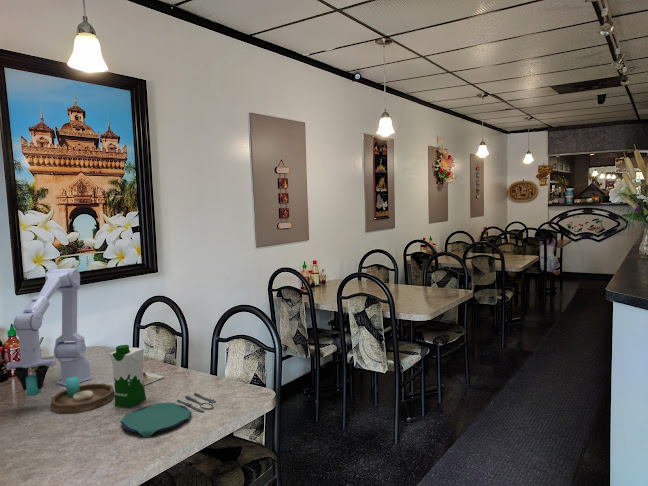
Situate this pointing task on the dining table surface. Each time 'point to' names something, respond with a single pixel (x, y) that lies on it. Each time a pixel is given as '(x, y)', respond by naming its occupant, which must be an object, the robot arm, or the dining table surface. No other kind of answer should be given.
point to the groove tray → (81, 406)
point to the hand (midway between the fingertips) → (33, 388)
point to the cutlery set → (160, 416)
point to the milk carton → (128, 376)
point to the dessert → (150, 375)
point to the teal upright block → (72, 386)
